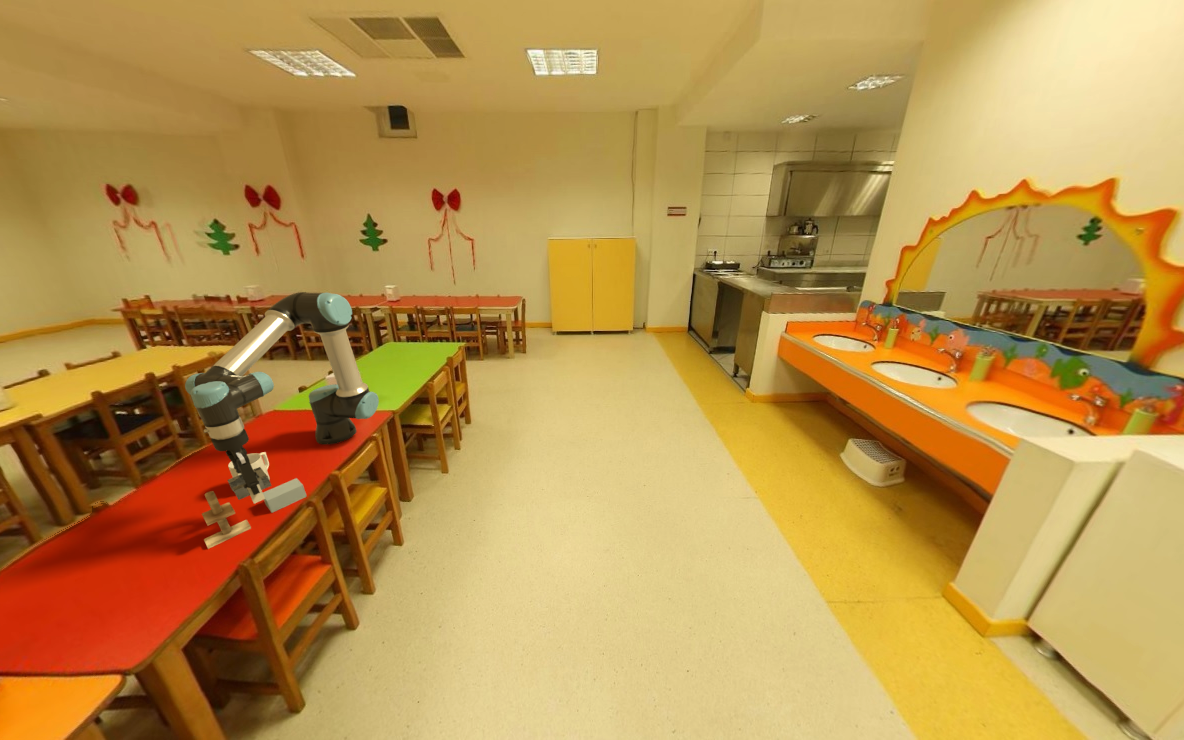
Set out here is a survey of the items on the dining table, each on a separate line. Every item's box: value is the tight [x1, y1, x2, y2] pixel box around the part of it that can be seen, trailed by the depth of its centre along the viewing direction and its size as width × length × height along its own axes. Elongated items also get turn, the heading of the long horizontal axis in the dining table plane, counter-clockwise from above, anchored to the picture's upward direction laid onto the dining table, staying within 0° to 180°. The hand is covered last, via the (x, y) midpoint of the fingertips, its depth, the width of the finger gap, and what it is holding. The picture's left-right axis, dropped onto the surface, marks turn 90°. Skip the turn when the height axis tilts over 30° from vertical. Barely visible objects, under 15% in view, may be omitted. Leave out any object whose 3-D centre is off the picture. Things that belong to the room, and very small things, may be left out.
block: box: [262, 477, 308, 513], centre depth 129 cm, size 10×6×5 cm, turn 143°
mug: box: [228, 451, 271, 481], centre depth 136 cm, size 12×9×11 cm
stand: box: [201, 490, 252, 550], centre depth 113 cm, size 10×6×16 cm, turn 143°
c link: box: [227, 467, 273, 501], centre depth 117 cm, size 8×8×4 cm
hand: (254, 494), depth 119 cm, fingers closed on c link, 8 cm apart
